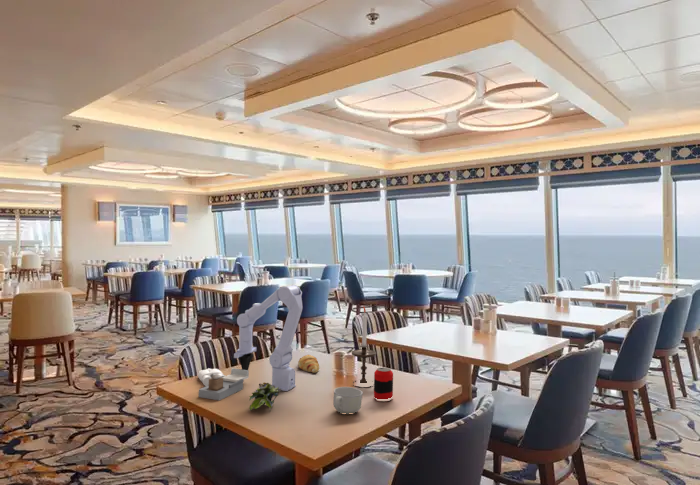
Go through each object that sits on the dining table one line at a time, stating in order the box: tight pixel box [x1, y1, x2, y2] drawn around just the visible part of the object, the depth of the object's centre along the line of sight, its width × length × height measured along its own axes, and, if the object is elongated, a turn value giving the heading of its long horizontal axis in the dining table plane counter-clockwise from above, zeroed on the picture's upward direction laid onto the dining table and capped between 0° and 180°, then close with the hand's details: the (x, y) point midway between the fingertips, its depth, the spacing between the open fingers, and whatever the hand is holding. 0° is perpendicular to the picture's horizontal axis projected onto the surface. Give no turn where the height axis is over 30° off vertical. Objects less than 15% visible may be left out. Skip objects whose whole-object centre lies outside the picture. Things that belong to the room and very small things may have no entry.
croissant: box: [297, 354, 320, 374], centre depth 240 cm, size 21×10×8 cm
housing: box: [198, 376, 245, 401], centre depth 199 cm, size 11×16×4 cm, turn 158°
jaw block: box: [209, 375, 223, 391], centre depth 196 cm, size 4×4×8 cm
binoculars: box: [197, 367, 226, 387], centre depth 217 cm, size 10×16×5 cm, turn 29°
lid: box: [222, 367, 250, 382], centre depth 208 cm, size 8×8×3 cm
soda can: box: [373, 367, 394, 399], centre depth 195 cm, size 8×8×12 cm
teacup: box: [332, 386, 363, 414], centre depth 179 cm, size 14×11×8 cm
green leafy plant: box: [248, 382, 282, 412], centre depth 182 cm, size 11×11×12 cm
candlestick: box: [351, 306, 377, 383], centre depth 214 cm, size 11×11×35 cm
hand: (245, 370), depth 215 cm, fingers closed
